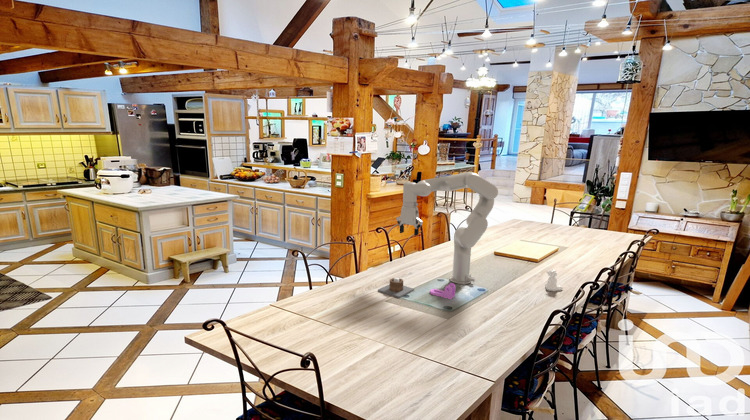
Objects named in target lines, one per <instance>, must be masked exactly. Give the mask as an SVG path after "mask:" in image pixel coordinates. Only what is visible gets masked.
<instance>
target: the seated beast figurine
mask: <svg viewBox="0 0 750 420" xmlns="http://www.w3.org/2000/svg"><path fill="white" fill-rule="evenodd" d="M545 272H546V274H547V275H548V276H549V277H548V278H547V282H545V284H544V286H545V290H546V291H548V292H559V291H562V290H564V287H563V286H561V285H557V283H558V279H557V275H558V272H557V271H556V270H555V269H552V268H551V269H548V270H545Z"/></svg>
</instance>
